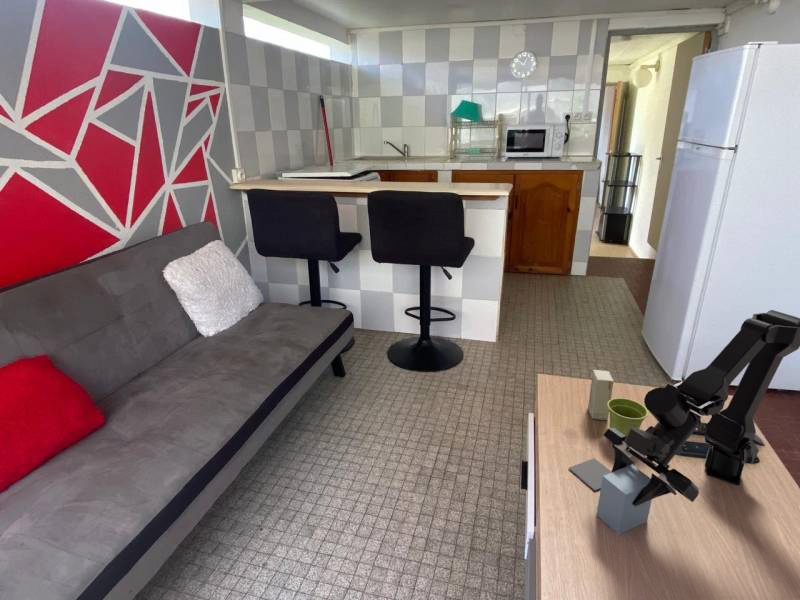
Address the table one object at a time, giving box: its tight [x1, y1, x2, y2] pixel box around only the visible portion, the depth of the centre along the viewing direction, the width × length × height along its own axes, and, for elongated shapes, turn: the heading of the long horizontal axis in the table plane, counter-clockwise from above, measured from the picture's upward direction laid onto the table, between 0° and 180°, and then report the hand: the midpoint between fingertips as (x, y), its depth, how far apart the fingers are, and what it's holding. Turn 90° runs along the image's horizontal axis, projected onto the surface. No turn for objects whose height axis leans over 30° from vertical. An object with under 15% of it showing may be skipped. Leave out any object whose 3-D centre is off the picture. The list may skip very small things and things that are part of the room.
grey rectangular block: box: [596, 464, 653, 535], centre depth 94 cm, size 8×6×10 cm
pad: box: [568, 457, 612, 492], centre depth 107 cm, size 8×8×1 cm
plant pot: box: [607, 397, 649, 436], centre depth 119 cm, size 9×9×9 cm
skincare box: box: [587, 369, 614, 421], centre depth 128 cm, size 6×4×12 cm
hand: (621, 494), depth 93 cm, fingers closed on grey rectangular block, 6 cm apart
